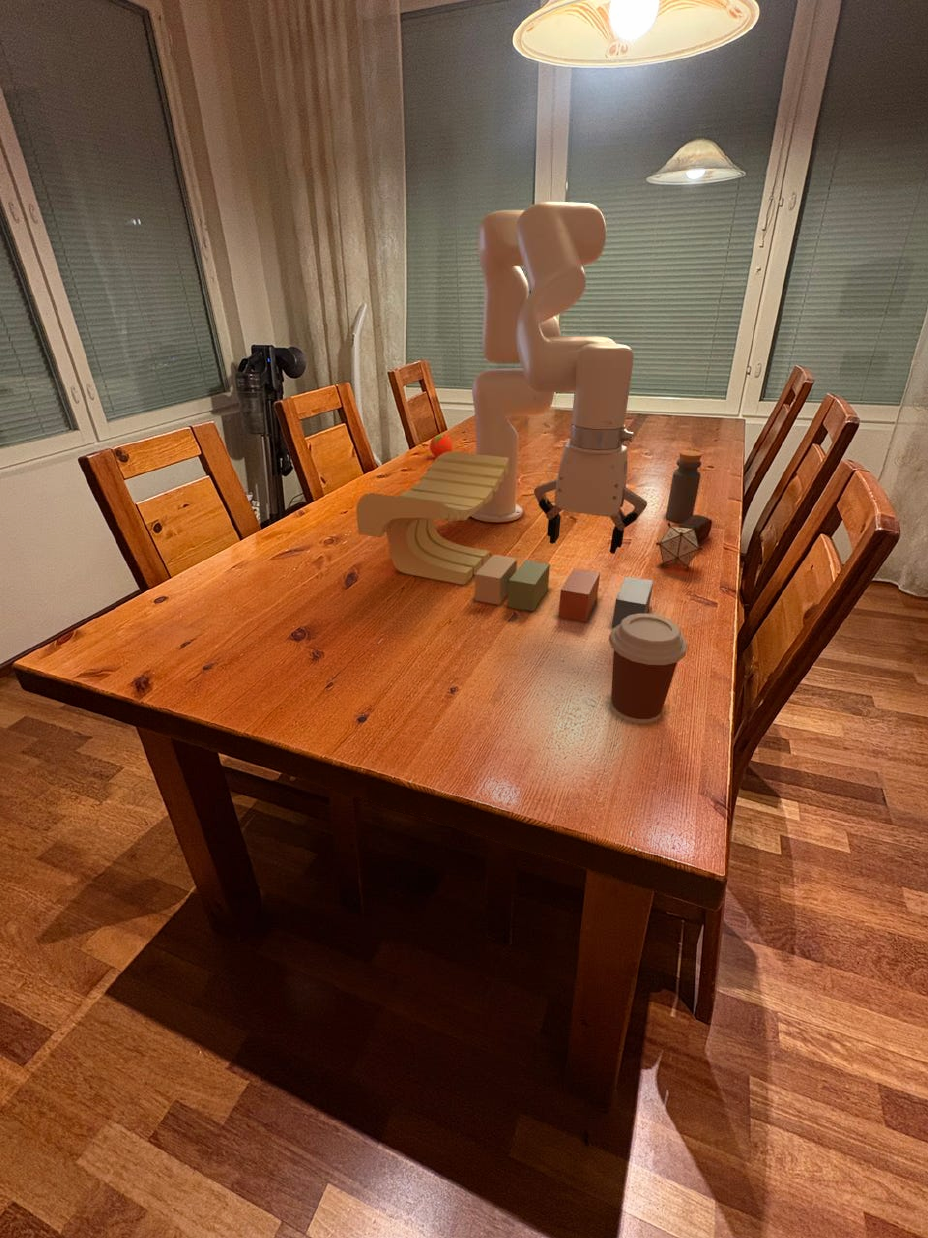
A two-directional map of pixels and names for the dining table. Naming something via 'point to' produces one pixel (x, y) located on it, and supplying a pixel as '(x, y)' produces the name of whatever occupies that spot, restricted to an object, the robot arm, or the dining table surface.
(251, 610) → the dining table surface
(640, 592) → the block
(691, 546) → the game die
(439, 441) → the tomato
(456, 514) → the slatted curved stool
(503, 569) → the block
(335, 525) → the dining table surface
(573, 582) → the loose block
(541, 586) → the block
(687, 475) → the bottle
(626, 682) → the coffee cup
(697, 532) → the brick
